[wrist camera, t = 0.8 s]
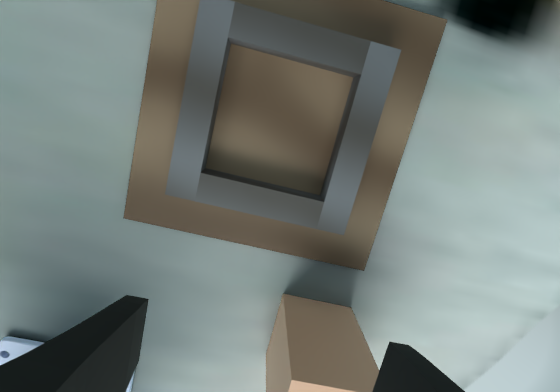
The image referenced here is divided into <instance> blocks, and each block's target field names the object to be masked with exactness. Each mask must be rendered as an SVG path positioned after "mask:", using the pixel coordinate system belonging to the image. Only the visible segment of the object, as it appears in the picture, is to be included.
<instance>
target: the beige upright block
mask: <svg viewBox="0 0 560 392" xmlns="http://www.w3.org/2000/svg"><path fill="white" fill-rule="evenodd" d="M378 374H379V369H378V367H377V365H376V362H375V360H374V358H373V356H372V353H371V351H370V349H369V347H368V344H367V342H366V340H365V338H364V335H363V333H362V331H361V329H360V326H359V324H358V322H357V320H356V317H355V315H354V313H353V311H352V308H351V307H346V306H341V305H336V304H331V303H326V302H322V301H317V300H312V299H307V298H302V297H297V296H292V295H288V294H283V295H282V299H281V302H280V306H279V309H278V313H277V317H276V320H275V324H274V327H273V331H272V335H271V338H270V342H269V345H268V349H267V352H266V392H372V391H373V388H374V385H375V382H376V379H377V377H378Z"/></svg>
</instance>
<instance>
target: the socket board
mask: <svg viewBox="0 0 560 392" xmlns="http://www.w3.org/2000/svg"><path fill="white" fill-rule="evenodd" d="M446 23H447V20H446V19H443V18H440V17H436V16H433V15H430V14H426V13H423V12H420V11H416V10H413V9H410V8H407V7H403V6H400V5H397V4H393V3H390V2H387V1H383V0H157V5H156V12H155V18H154V25H153V31H152V38H151V44H150V50H149V57H148V63H147V70H146V76H145V83H144V89H143V96H142V102H141V108H140V115H139V121H138V128H137V134H136V141H135V147H134V154H133V160H132V166H131V173H130V179H129V186H128V192H127V199H126V205H125V212H124V218H125V219H130V220H134V221H139V222H143V223H148V224H152V225H157V226H162V227H166V228H171V229H175V230H180V231H184V232H189V233H194V234H198V235H203V236H207V237H212V238H217V239H221V240H226V241H230V242H235V243H239V244H244V245H249V246H253V247H258V248H262V249H267V250H272V251H276V252H281V253H285V254H290V255H294V256H299V257H304V258H308V259H313V260H317V261H322V262H326V263H331V264H336V265H340V266H345V267H349V268H354V269H359V270H363V271H364V269H365V266H366V263H367V260H368V257H369V254H370V251H371V248H372V245H373V242H374V239H375V236H376V233H377V230H378V227H379V224H380V221H381V218H382V215H383V212H384V209H385V206H386V203H387V200H388V197H389V194H390V191H391V188H392V185H393V182H394V179H395V176H396V173H397V170H398V167H399V164H400V161H401V158H402V155H403V152H404V149H405V146H406V143H407V140H408V137H409V134H410V131H411V128H412V125H413V122H414V119H415V116H416V113H417V110H418V107H419V104H420V101H421V98H422V95H423V92H424V89H425V86H426V83H427V80H428V77H429V74H430V71H431V68H432V65H433V62H434V59H435V56H436V53H437V50H438V47H439V44H440V41H441V38H442V35H443V32H444V29H445V26H446Z"/></svg>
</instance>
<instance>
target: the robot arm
mask: <svg viewBox="0 0 560 392" xmlns="http://www.w3.org/2000/svg"><path fill="white" fill-rule="evenodd" d="M147 306H148V299H146V298H140V297H134V296H129V295H126V296H124V297H123V298H121V299H119V300H118V301H116V302H114V303H113V304H111V305H109V306H108V307H106V308H105V309H103V310H101V311H100V312H98V313H96V314H95V315H93V316H92V317H90V318H88V319H87V320H85V321H83V322H82V323H80V324H78V325H76V326H75V327H73V328H71V329H70V330H68V331H66V332H64V333H63V334H61V335H59V336H57V337H55V338H53V339H51V340H49V341H48V342H46V343H44V342H38V341H33V340H27V339H22V338H16V337H10V336H7V337H4V338H3V339H2V340H0V392H131V389H132V383H133V378H134V372H135V368H136V366H137V364H138V361H139V356H140V349H141V343H142V337H143V331H144V324H145V318H146V312H147ZM6 351H7V352H8V353H7V352H6ZM372 392H465V391H464V390H462V389H461V388H460V387H459V386H458V385H456V384H455V383H454V382H453V381H452V380H451V379H449V378H448V377H447V376H446V375H445V374H444V373H442V372H441V371H440V370H439V369H438V368H437V367H435V366H434V365H433V364H432V363H431V362H430V361H428V360H427V359H426V358H425V357H424V356H422V355H421V354H420V353H419V352H417V351H416V350H415V349H413V348H412V347H410V346H409V345H405V344H399V343H394V342H389V345H388V348H387V350H386V353H385V356H384V359H383V362H382V365H381V368H380V371H379V374H378V377H377V379H376V382H375V385H374V388H373V391H372Z"/></svg>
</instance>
